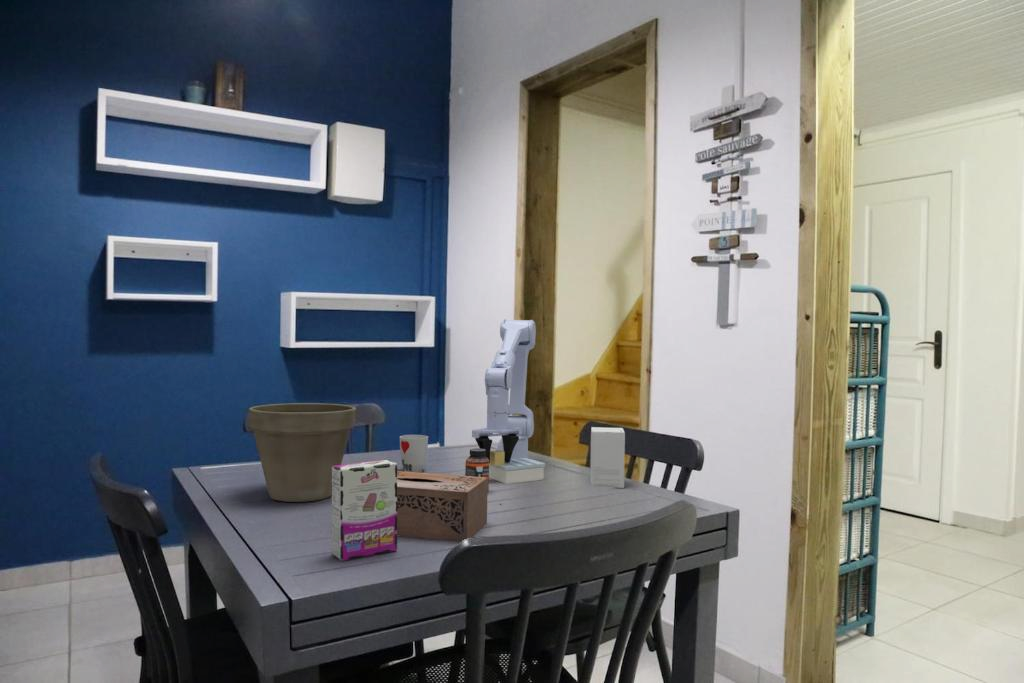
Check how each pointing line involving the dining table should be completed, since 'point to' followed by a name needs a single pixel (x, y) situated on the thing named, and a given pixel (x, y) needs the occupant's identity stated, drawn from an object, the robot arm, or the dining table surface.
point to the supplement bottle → (477, 464)
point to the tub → (516, 474)
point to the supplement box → (607, 456)
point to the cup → (413, 452)
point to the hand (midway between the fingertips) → (496, 462)
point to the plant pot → (301, 447)
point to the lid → (512, 462)
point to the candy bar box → (364, 509)
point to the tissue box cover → (440, 505)
